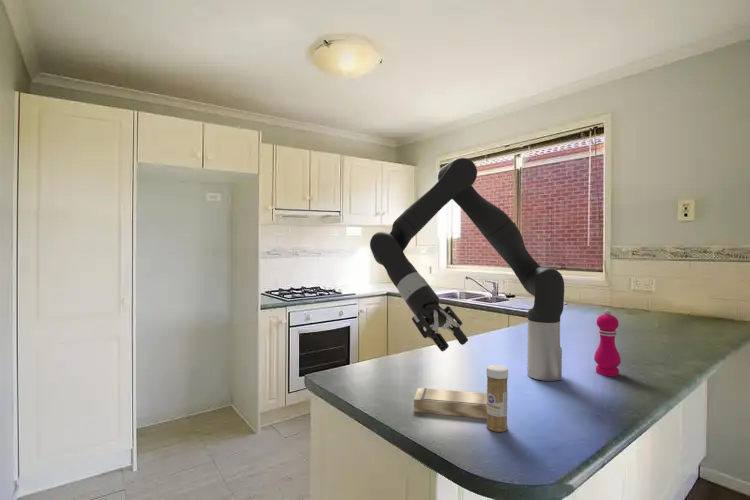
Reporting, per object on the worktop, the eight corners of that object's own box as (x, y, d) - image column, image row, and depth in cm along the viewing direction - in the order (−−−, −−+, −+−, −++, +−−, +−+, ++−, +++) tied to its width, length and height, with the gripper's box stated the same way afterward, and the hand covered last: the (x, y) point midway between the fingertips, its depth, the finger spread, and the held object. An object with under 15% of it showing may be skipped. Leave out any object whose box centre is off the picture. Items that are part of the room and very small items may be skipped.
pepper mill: (619, 371, 128) (619, 308, 128) (622, 378, 122) (622, 312, 122) (593, 368, 131) (593, 307, 131) (594, 375, 125) (595, 310, 125)
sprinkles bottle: (482, 428, 88) (482, 367, 88) (491, 421, 92) (491, 362, 92) (503, 434, 85) (503, 371, 85) (511, 427, 89) (511, 366, 89)
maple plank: (498, 406, 101) (498, 393, 101) (500, 419, 93) (500, 406, 93) (418, 399, 105) (418, 387, 105) (413, 411, 97) (413, 398, 97)
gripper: (408, 286, 97) (448, 341, 89) (441, 282, 107) (480, 331, 100) (391, 306, 101) (429, 361, 93) (425, 300, 111) (462, 349, 103)
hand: (455, 345), depth 96 cm, fingers open, 8 cm apart
